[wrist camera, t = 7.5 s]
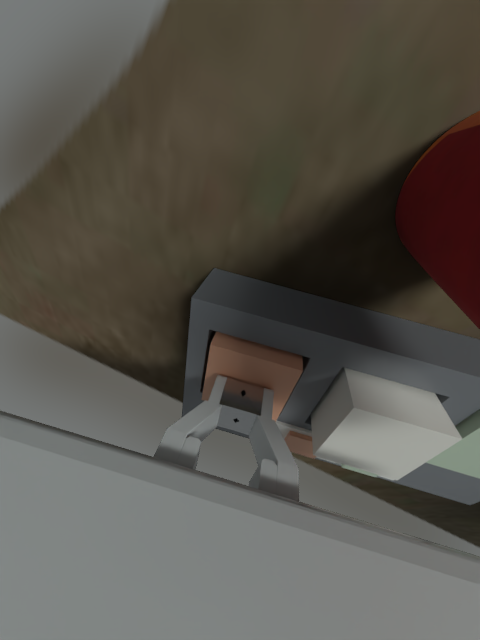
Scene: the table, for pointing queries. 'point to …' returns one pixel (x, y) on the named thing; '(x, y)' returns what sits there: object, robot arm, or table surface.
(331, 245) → the table surface
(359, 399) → the key white
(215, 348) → the key terracotta
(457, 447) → the key sage
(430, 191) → the paper cup
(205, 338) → the keypad housing
